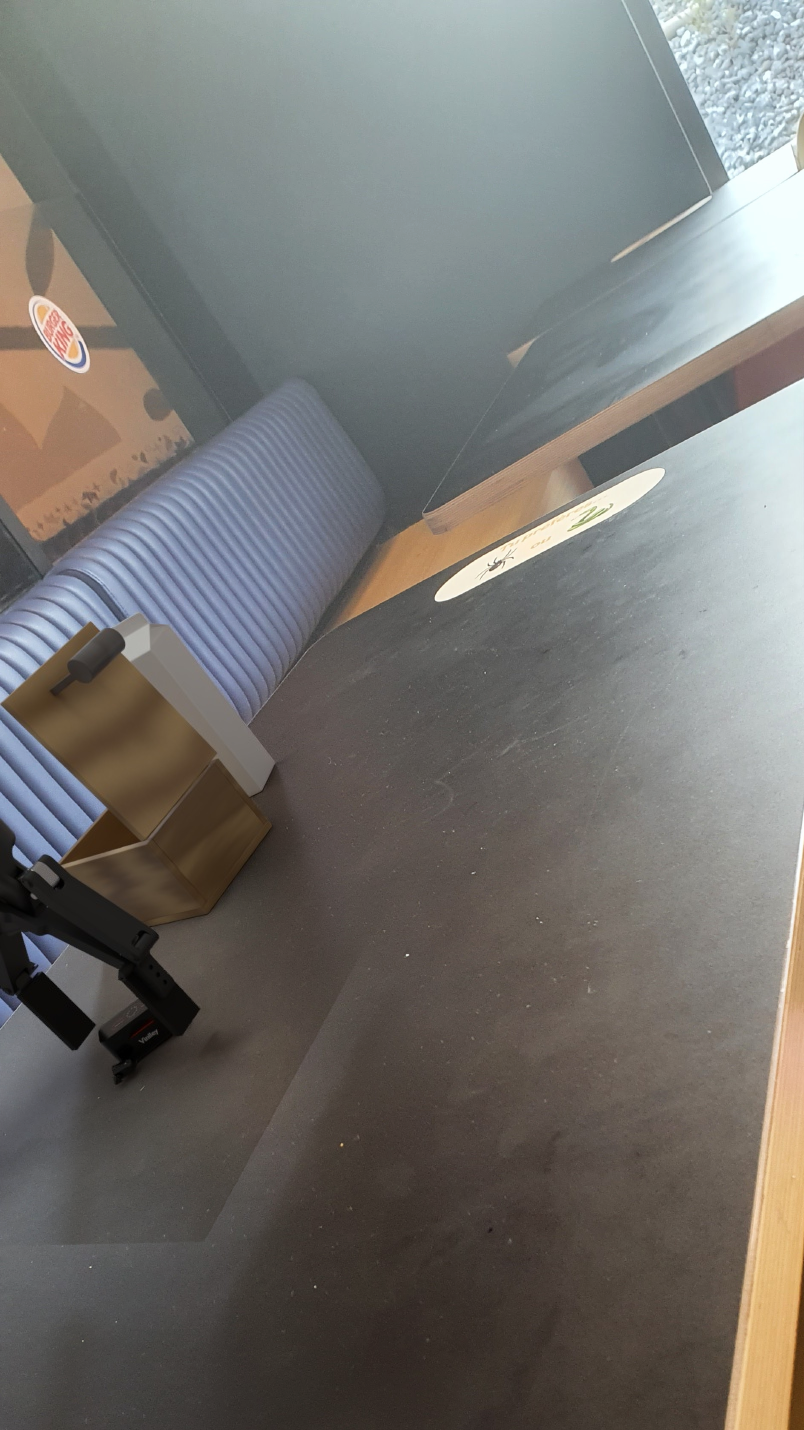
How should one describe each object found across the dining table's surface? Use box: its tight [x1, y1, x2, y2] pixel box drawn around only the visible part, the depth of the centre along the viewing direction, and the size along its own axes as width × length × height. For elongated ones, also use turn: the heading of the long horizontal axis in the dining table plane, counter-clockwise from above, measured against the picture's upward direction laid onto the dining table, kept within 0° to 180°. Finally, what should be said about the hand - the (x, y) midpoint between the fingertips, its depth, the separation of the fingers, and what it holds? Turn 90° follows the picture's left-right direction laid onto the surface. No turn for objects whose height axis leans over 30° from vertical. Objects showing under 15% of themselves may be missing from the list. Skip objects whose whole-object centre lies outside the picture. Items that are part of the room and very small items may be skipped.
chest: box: [57, 759, 273, 927], centre depth 114 cm, size 16×13×9 cm
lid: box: [0, 620, 217, 841], centre depth 102 cm, size 16×13×7 cm
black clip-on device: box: [97, 998, 173, 1086], centre depth 91 cm, size 5×7×3 cm, turn 113°
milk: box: [111, 611, 276, 798], centre depth 123 cm, size 6×6×22 cm
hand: (134, 1031), depth 91 cm, fingers open, 13 cm apart
